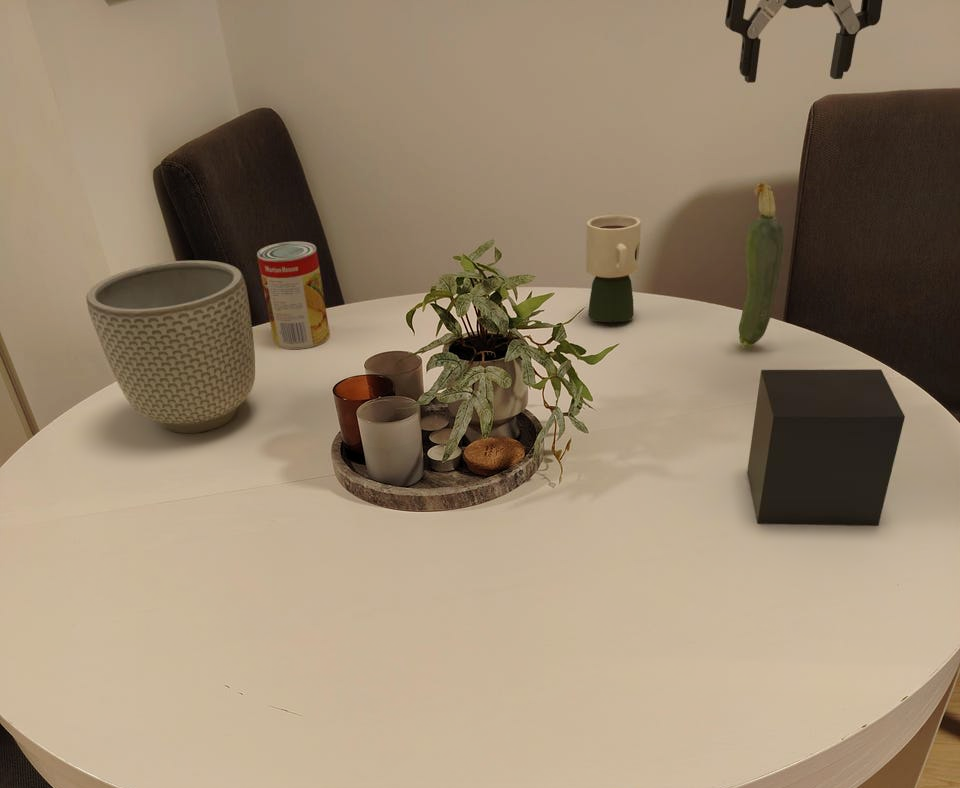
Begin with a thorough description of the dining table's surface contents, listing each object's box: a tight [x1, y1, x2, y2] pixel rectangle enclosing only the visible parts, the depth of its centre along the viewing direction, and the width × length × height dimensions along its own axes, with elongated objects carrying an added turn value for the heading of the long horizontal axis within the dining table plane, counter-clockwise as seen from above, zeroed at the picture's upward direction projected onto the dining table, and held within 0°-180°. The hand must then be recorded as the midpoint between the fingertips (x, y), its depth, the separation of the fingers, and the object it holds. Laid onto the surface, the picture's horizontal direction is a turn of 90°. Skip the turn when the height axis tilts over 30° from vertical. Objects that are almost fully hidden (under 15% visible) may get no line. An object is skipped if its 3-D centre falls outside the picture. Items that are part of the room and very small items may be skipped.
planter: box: [85, 259, 256, 434], centre depth 110 cm, size 17×17×16 cm
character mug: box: [585, 214, 642, 324], centre depth 128 cm, size 11×7×13 cm, turn 9°
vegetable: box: [738, 181, 784, 350], centre depth 115 cm, size 4×4×20 cm
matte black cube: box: [746, 368, 906, 526], centre depth 90 cm, size 11×12×11 cm
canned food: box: [256, 240, 331, 350], centre depth 129 cm, size 8×8×12 cm
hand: (792, 79), depth 95 cm, fingers open, 8 cm apart
